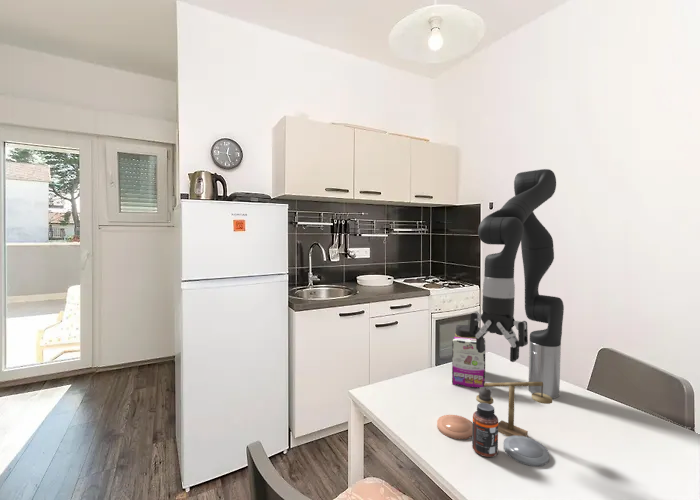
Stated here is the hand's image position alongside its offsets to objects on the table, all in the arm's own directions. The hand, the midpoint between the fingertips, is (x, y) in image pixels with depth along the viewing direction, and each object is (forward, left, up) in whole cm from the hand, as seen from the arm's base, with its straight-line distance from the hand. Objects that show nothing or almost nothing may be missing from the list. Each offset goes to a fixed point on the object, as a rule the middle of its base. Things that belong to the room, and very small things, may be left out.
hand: (496, 356), depth 87 cm
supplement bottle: (+6, 0, -23) cm, 23 cm away
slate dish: (-1, +7, -22) cm, 24 cm away
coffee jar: (-35, -28, -23) cm, 50 cm away
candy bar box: (-25, -22, -23) cm, 40 cm away
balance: (-6, +1, -22) cm, 23 cm away
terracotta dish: (+3, -10, -22) cm, 25 cm away
